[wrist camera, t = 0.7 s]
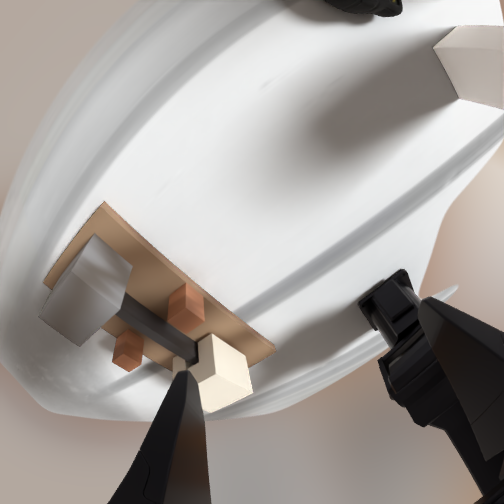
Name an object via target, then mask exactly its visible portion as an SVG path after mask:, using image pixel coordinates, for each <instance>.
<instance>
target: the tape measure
mask: <svg viewBox="0 0 504 504" xmlns="http://www.w3.org/2000/svg"><path fill="white" fill-rule="evenodd" d="M325 1H326V2H327V3H329V4H330V5H332V6H334V7H336V8H338V9H342V10H343V11H346V12H350V13H356V14H357V13H360V14H363V13H372V14H375V15H378V16H381V17H393V16H396V15H399V14H401V12H402V1H401V0H325Z"/></svg>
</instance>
